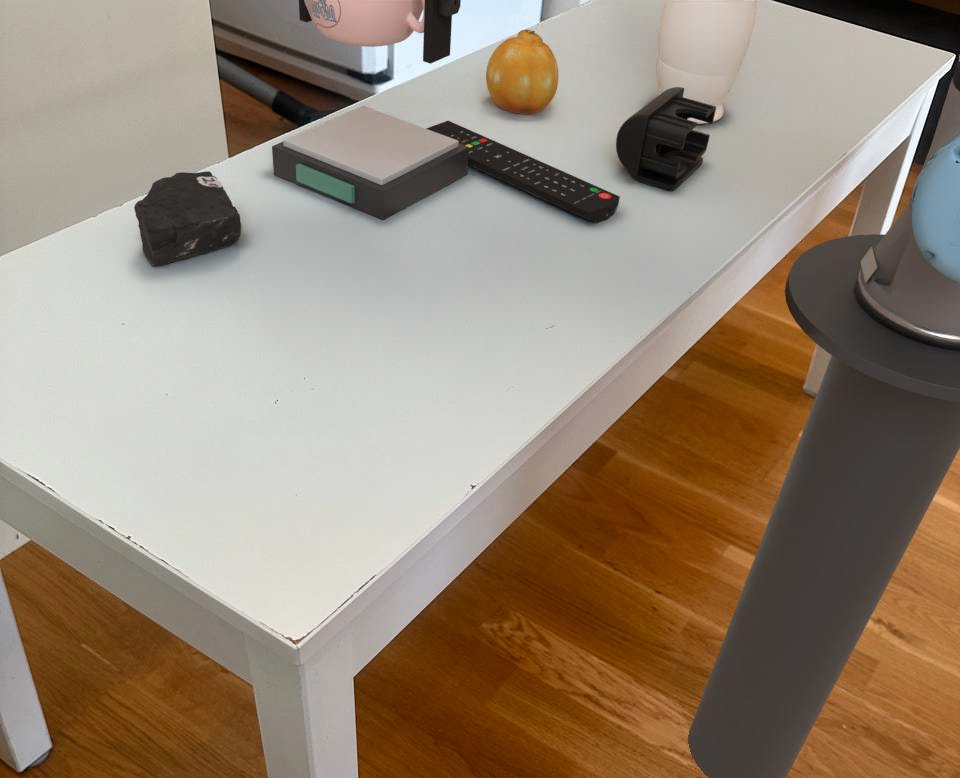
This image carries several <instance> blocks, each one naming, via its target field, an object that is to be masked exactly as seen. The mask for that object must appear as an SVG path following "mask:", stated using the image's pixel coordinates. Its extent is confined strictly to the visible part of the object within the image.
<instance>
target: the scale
mask: <svg viewBox="0 0 960 778" xmlns="http://www.w3.org/2000/svg"><path fill="white" fill-rule="evenodd" d="M271 154H272V168H273V175H274V176H276V177H278V178H281V179H284V180H286V181H288V182H291V183H293V184H295V185H298V186H301V187H303V188H305V189H307V190H310V191H312V192H315V193H317V194H320V195H322V196H324V197H327V198H329V199H331V200H334V201H337V202H339V203H341V204H344V205H346V206H349V207H351V208H352V209H353V208H354V209H355V210H358V211H360V212H363V213H366V214H368V215H370V216H373V217H375V218H378V219H379V220H381V221H382V220H383V221H384V220H386V219H388V218H389V217H392V216H393V215H396V214H397V213H399V212H401V211H403V210H404V209H407V208H408V207H411V206H412V205H414V204H416V203H417V202H419V201H421V200H423V199H425V198H427V197H429V196H430V195H433V194H434V193H436V192H438V191H439V190H441V189H443V188H445V187H447V186H449V185H451V184H453V183H454V182H457V181H458V180H460V179H462V178H463V177H466V176H467V175H468V173H469V172H468V171H469V165H468V158H469V147H468V146H465V145H462V144H460V143H459V141H458V140H455V139H452V138H450V137H447V136H444V135H441V134H439V133H436V132H433V131H431V130H428V129H426V128H425V127H422V126H420V125H417V124H414V123H412V122H409V121H406V120H403V119H400V118H398V117H396V116H392V115H390V114H387V113H385V112H381V111H379V110H376V109H374V108H371V107H368V106H365V105H361V106H359V107H357V108H355V109H352V110H350V111H348V112H344V113H343V114H341V115H337V116H336V117H333V118H331V119H328V120H327V121H324V122H321V123H320V124H316V125H315V126H312V127H310V128H308V129H305V130H303V131H301V132H299V133H296V134H294V135H292V136H289V137H287V138H285V139H283V140H282V141H281V142H279V143H276V144H274V145H272V146H271Z"/></svg>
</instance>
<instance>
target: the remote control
mask: <svg viewBox="0 0 960 778" xmlns="http://www.w3.org/2000/svg"><path fill="white" fill-rule="evenodd" d="M425 129H428V130H431V131H433V132H436V133H439V134H441V135H444V136H447V137H450V138H452V139H455V140H458V141H459V143H460V144H462V145H465V146H468V147H469V158H468V166H470V167H473V168H475V169H477V170H478V171H481V172H483V173H486V174H487V175H490V176H492V177H494V178H497V179H498V180H500V181H503V182H505V183H507V184H510V185H511V186H513V187H516V188H518V189H519V190H522V191H524V192H527V193H529V194H531V195H533V196H535V197H537V198H540V199H542V200H544V201H546V202H548V203H551V204H553V205H555V206H556V207H560V208H561V209H564V210H566V211H568V212H570V213H571V214H572V213H573V214H574V215H577V216H579V217H581V218H582V219H585V220H588V221H590V222H595V223H599V222H600V223H601V222H604V221H607V220H609V218H611V217H612V216H613V215H614V214H615V212H616V210H617V208H618V206H619V203H620V198H621V196H620V195H617V194H615V193H613V192H611V191H609V190H606V189H604V188H602V187H599V186H597V185H595V184H593V183H590V182H588V181H586V180H584V179H582V178H579V177H577V176H575V175H572V174H570V173H568V172H565V171H563V170H561V169H559V168H557V167H554V166H552V165H551V164H550V165H549V164H548V163H545V162H543V161H540V160H538V159H536V158H534V157H532V156H530V155H527V154H524V153H522V152H520V151H518V150H516V149H514V148H511V147H509V146H508V145H505V144H503V143H500V142H498V141H495V140H494V139H491V138H489V137H486V136H484V135H482V134H480V133H478V132H475V131H473V130H470V129H468V128H466V127H464V126H462V125H460V124H457V123H456V122H452V121H451V120H446V121H442V122H439V123H436V124H434V125H432V126H429V127H426V128H425Z"/></svg>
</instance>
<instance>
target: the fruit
mask: <svg viewBox="0 0 960 778" xmlns="http://www.w3.org/2000/svg"><path fill="white" fill-rule="evenodd" d="M543 40H544V39H543V38H542V37H541V36H540V35H539V34H538V33H537V32H535V30H530V29H522V30H520V31H519V32H518V34H517V35H516V36H515V37H514V36H513V37H508V38H507V39H505V40H503V41H502V42H501V43H500V44H499V45H498V46H497V47H496V48H495V49H494V51H493V52H492V54H491V55H490V57H489V59H488V61H487V66H486V71H485V81H486V87H487V92H488V94H489V96H490V97H491V100H492V101H493V102H494V103H495V104H496V105H497V106H498V107H500V108H501V109H503V110H505V111H508V112H510V113H515V114H520V115H530V114H535V113H538V112H540V111H542V110H544V109H545V108H546V107H548V106H549V104H551V102H552V101H553V99H554V98H555V96H556V93H557V90H558V86H559V67H558V66H559V65H558V61H557V59H556V56H555V55H554V53H553V51H552V49H551V48H550V46H549V45H548V44H547V43H545V42H544V41H543Z"/></svg>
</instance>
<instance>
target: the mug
mask: <svg viewBox="0 0 960 778" xmlns="http://www.w3.org/2000/svg"><path fill="white" fill-rule="evenodd" d="M304 1H305V4H306V6H307V9H308V11H309V14H310V16H311V19H312V21H311V22H312V23H313V24H314V26H315V28H316V29H317V31H318V32H319V33H321V34H322V35H323V36H324V37H327V38H328V39H330V40H332V41H336V42H338V43H341V44H346V45H350V46H356V47H364V48H365V47H367V48H368V47H371V48H375V47H376V48H377V47H385V46H390V45H394V44H398V43H402V42H403V41H406V40H407V39H408V38H409V37H410V36H411V35H412V34H413V33H414V32H415V33H417V34H424V10H425V0H304ZM421 16H422V19H421V20H420V18H421Z"/></svg>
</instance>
